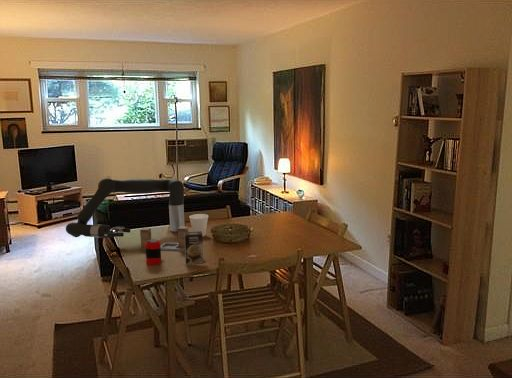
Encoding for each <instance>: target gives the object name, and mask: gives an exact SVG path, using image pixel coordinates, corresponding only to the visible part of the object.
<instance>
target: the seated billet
mask: <svg viewBox="0 0 512 378" xmlns="http://www.w3.org/2000/svg"><path fill="white" fill-rule="evenodd" d="M184 232H189V226H185V225H184V226H180V227H179V228H178V232H177V240H178V241H177V243H178V244H179V248H182V249H185V234H184Z"/></svg>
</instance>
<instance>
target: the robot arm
mask: <svg viewBox="0 0 512 378" xmlns="http://www.w3.org/2000/svg"><path fill="white" fill-rule="evenodd" d="M157 192H164V193H165V192H167V193H169V200H168V210H169V211H168V213H169V230H170V232H174V233H176V232H177V233H178V228H179V227H180V226H184V227H185V212H184V211H185V209H184V207H185V206H184V201H185V187H184V183H183V182H182V181H180V180H178V179H176V178H170V179H154V178H152V179H151V178H129V179H112V178H109V177H107V178H102V179H101V180H99V182H98V184H97V189H96V191H95V193H94V195H93V196H92V197H91V198H90V200H88V201H87V202H86V204H85V205H84V206H83V207H82V208H81V210H80V211H79V213H77V216H76V219H77V222H69V223H68V224H67V225H66V226H65V231H66V233H67V234H68V235H70V236H72V237H74V238H79V237H81V236H84V237H85V238H86V237H87V238H88V237H90V238H95V239H97V238H98V239H99V238H100V239H108V238H110V239H113V238H117V237H119V238H121V237H122V238H123V237H124V234H125V233H131V228H126V227H125V226H114V227H112V228H111V226H110V225H108V224H88V223H89V221H90V219H91V218H92V217H93V216H94V215H95V213H96V212H97V210H98V208H99V207H100V206H101V204H102V203H103V201H105V199H106V198H108V196H109V195H111V194H112V193H113V194H114V193H128V194H142V195H143V194H152V193H153V194H154V193H157Z"/></svg>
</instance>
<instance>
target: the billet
mask: <svg viewBox="0 0 512 378" xmlns="http://www.w3.org/2000/svg"><path fill="white" fill-rule="evenodd" d="M139 233H140V234H139V235H140V249H141V251H146V247H145V244H146V242H147V241H148V240H151V239H152V229H151V227H143V228H141V229H139Z"/></svg>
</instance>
